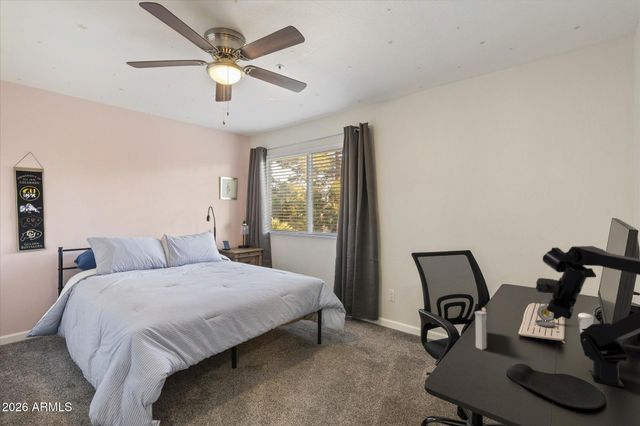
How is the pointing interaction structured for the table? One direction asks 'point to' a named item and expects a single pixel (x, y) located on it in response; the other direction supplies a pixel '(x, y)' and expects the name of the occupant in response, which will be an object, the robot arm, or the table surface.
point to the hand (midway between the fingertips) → (555, 318)
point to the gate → (486, 323)
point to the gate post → (480, 329)
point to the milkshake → (585, 320)
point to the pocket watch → (545, 312)
